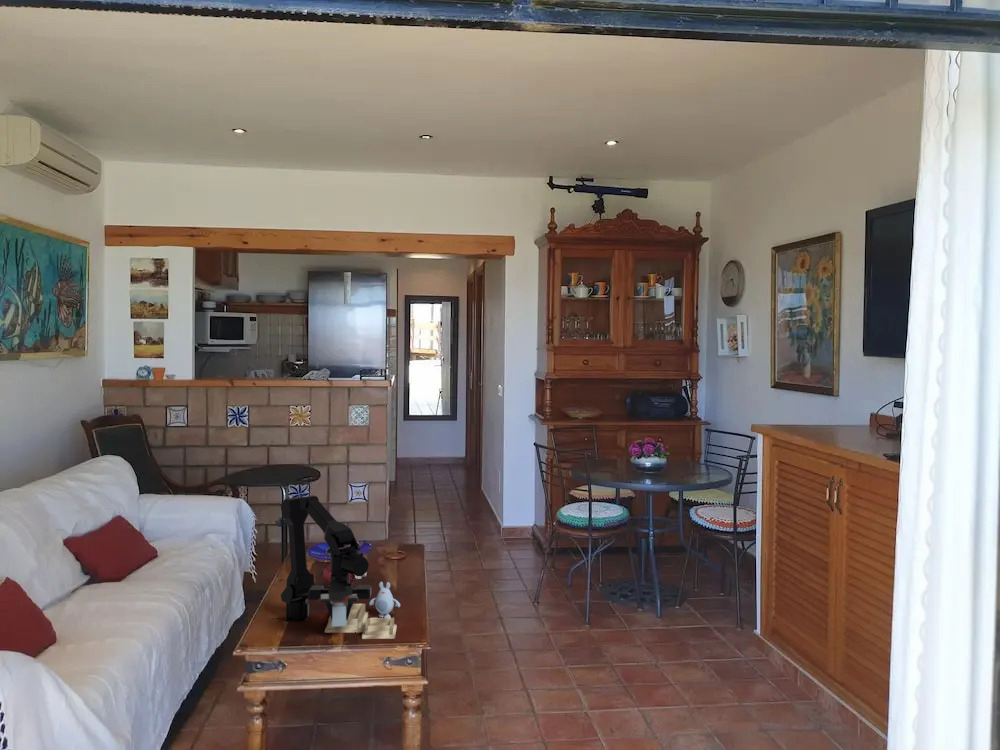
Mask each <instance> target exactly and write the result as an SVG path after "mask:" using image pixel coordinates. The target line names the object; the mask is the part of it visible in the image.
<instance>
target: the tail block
mask: <svg viewBox="0 0 1000 750" xmlns="http://www.w3.org/2000/svg"><path fill="white" fill-rule="evenodd" d="M347 604H348V601H347V602H345V601H339V602H334V601H333V607H332V626H346V624H347V620H346V613H347Z"/></svg>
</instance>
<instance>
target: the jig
mask: <svg viewBox="0 0 1000 750" xmlns="http://www.w3.org/2000/svg"><path fill="white" fill-rule="evenodd" d="M347 605H348V603H347ZM368 613H369V611H366V603H353V605H352V607H351V611H350V614H349V617H348V620H347V624H346V626H332V619H331V616H330V615H329V618H328V620H327V621H328V622H327V625H326V627H325V628H324V629H325V630H324V633H325V634H327V633H330V634H331V633H333V634H336V633H337V634H339V633H342V634H345V633H355V632H356V633H362V634H361V639H362V640H370V639H373V640H374V639H377V640H378V639H381V640H384V639H385V640H386V639H387V640H389V639H391V640H392V639H396V635H397V634H396V632H397V628H398V627H397V624H395V617H390V618H385V617H384V618H378V617H369V614H370V613H369V614H368Z"/></svg>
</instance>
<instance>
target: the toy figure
mask: <svg viewBox="0 0 1000 750" xmlns="http://www.w3.org/2000/svg"><path fill="white" fill-rule="evenodd" d="M378 586H379V588H380V589H379V591H378V592H377V595H376V597H374V598H371V600H370V601H369V603H368V604H369V606H372V605H373V606H375V608H376V610H377V612H378V613H379V614H378V616H380V617H382V618H383V617H384V618H392V617H391V615H390V612H391V611H393V609H394V607H397V608H400V607H401V603H400V602H399V601H398V600H397V599H396V598H394V596H393V594H392V592H391V590H390V588H391V583H390V582H389V581H387V582H386V583H385V586H384V583H383V581H380V582H379V583H378ZM394 605H395V606H394Z"/></svg>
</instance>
